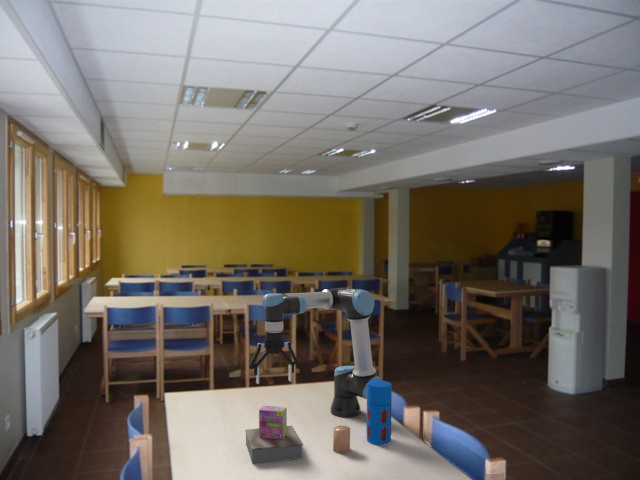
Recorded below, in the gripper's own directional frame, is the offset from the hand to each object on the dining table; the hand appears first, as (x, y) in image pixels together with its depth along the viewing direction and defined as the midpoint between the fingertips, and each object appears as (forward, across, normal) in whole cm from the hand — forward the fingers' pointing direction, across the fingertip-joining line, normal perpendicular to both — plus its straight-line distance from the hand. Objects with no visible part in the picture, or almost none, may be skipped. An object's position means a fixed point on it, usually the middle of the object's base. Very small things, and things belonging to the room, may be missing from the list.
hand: (273, 382), depth 218 cm
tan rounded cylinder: (+29, -28, +6) cm, 40 cm away
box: (+23, 0, 0) cm, 23 cm away
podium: (+29, 0, 0) cm, 29 cm away
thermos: (+29, -47, 0) cm, 55 cm away
